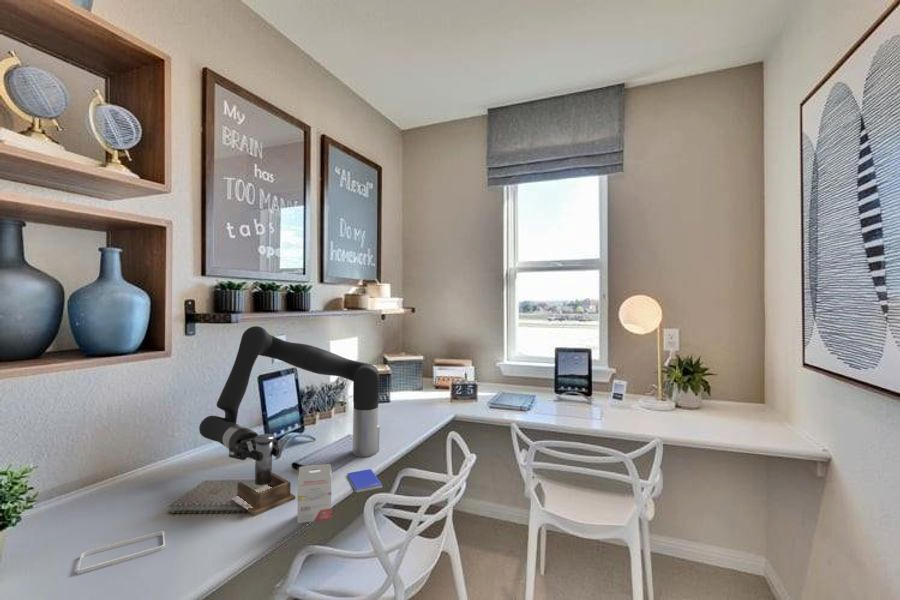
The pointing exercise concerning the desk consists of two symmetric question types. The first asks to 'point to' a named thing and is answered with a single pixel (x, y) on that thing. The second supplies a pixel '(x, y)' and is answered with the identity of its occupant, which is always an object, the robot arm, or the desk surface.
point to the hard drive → (364, 480)
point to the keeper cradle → (266, 495)
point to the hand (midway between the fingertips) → (269, 454)
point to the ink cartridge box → (314, 493)
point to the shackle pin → (264, 459)
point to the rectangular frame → (118, 546)
